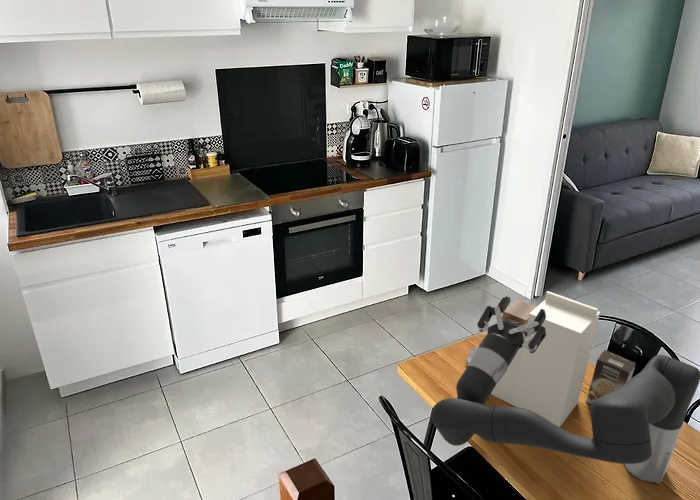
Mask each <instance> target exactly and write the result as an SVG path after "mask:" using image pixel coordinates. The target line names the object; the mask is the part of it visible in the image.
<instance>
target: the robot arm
mask: <svg viewBox="0 0 700 500" xmlns="http://www.w3.org/2000/svg"><path fill="white" fill-rule="evenodd" d="M510 304H511V297H510V296H508V295H506V296H504V297H503V298H501V300H500V301H499V303H498V304H497V306H494V307H493V306H491V305H487V306H486V308H485V309H484V311H483V313H482V315H481V317H480V318H479V320H478V322H477V328H478V331H479V332H481V333H482V332H487V334H485V336H484V338H483V339H482V340H481V342H480V344H479V345H478V346H477V347H478V348H477V350H476V352H475V353H474V355H473V356H472V358H471V360H470V362H469V364H468V363H467V366H466V368H465V370H464V371H463V373H462V375H461V376H460V377H459V379H458V381H457V383H456V387H455V389H456V395H457V396H456V397H457V398H455V397H451V398H450V397H449V398H444V399H442V400H440V401H438V402H437V403H435V404H434V406H433V407H432V409H431V414H430V418H431V421H432V424H433V425H434V427H435V428H436V429H437V431H438V432H439V434H440V435H441V437H442V438H443V439H444V441H445V442H446V443H448V444H449V445H451V446H462V445H465V444H466V443H468V442H469V441H470V439H472V438H473V436H474V435H476V436H478V437H480V438H481V440H483V441H485V442H488V443H491V444H492V443H493V444H502V445H504V444H506V445H517V446H518V445H519V446H527V447H534V448H540V449H545V450H549V451H554V452H558V453H563V454H567V455H572V456H576V457H582V458H587V459H592V460H596V461H597V460H598V461H601V462H607V463H612V464H613V463H614V464H624V466H625V468H626V469H627V471H628V472H629V473H630V474H631V475H632V476H634V477H636V478H637V479H639V480H642V481H643V482H644V481H645V482H648V483H655V484H658V485H661V483H662V481H663V479H664V477H665V475H666V473H667V471H668V467H669V464H670V461H671V459H672V456H673V453H674V451H675V448H676V445H677V441H678V438H679V434H680V432H681V430H682V427H683V424H684V420H685V418H686V416H687V412H688V409H689V407H690V405H691V403H692V401H693V397H694V396H695V394H696V391H697V389H698V387H699V384H700V369H699V368H697V367H696V366H693V365H691V364H689V363H686V362H683V361H681V360H678V359H676V358H674V357H670V356H667V355H663V354H656V355H655V356H653V357H652V358H650V360H649V361H648V362H647V364H646V365H645V366H644V367H643V368H642V370H641V371H640V372H639V373H637V374H636V375H634V376H632V377H631V379H630V380H629V381H627V382H626V383H625V384H624V385H623V386H622V387H620V388H619V389H617V390H616V391H613V392H611V393H609V394H606V395H604V396H602V397H600V398H598V399H596V400H595V401H594V402H593V403H592V404H591V406H590V422H591V431H592V437H587V436H583V435H582V436H581V435H578V434H574V433H572V432H570V431H568V430H565V429H563V427H562V428H561V426H560V427H558V426H556V425H555V424H553V423H551V422H550V421H548V420H547V419H545V418H543V417H542V416H540V415H538V414H537V413H535V412H533V411H530V410H527V409H524V408H519V407H515V406H500V405H499V406H498V405H496V406H495V405H493V406H492V405H486V402H487V401H488V399H489V398H490V396H491V395H492V394H491V392H492V391H493V389H494V387H495V386H496V384H497V383H498V382H499V381H500V379H501V378H502V377H503V375H504V374H505V373H506V371H507V368H508V367H509V365H510V363H511V362H512V360H513V358H514V357H515V355H516V353H517V351H518V350H519V349H520V348H521V347H524V348H526V349H528V350H529V352H530V353H534V352H535V351H536V350H537V348H538V347H539V345H540V344H541V342H542V341H543V339H544V338H545V336H546V330H545V327H543V326H541V325H542V324H543V322H544V320H545V319H546V312H545V310H544V309H541V310H540V311H539V313H538V314H537V316H536V318H535V319H534V322H532V323H530V324H524V325H522V326H519V324H516V323H512V322H510V321H509V320H506V321H505V320H504V321H503V320H502V315H503V313H504V311H505V310H506V308H508V307H509V306H510ZM493 316H495V318H496V323H494V324H492V325H489V322H490V321H491V319H492V317H493ZM523 331H525V332H523ZM522 332H523V333H522ZM536 332H537V333H536ZM533 333H536V334H535V335H534V337H533V338H532V340H531V339H529V340H528V341H527V342H524V338H527V337H529V336H531V334H533Z"/></svg>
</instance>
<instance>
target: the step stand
mask: <svg viewBox="0 0 700 500" xmlns="http://www.w3.org/2000/svg"><path fill="white" fill-rule="evenodd" d="M541 309H544V310H545V312H546V319H545V320H544V322H543V324H542V325H541V326H543V327H545V330H546V336H545V338H544V339H543V341H542V342H541V344H540V345H539V347H538V348H537V350H536V351H535V352H534V353H530V352H529V350H528V349H526V348H524V347H521V348H520V349H519V350H518V351H517V353H516V355H515V357H514V358H513V360H512V362H511V363H510V365H509V367H508V368H507V371H506V373H505V374H504V375H503V377H502V378H501V379H500V381H499V382H498V383H497V384H496V386H495V387H494V389H493V391H492V392H491V394H490V395H492V396H494V397H496V398H498V399H499V400H501V401H504V402H506V403H508V404H510V405H512V407H519V408H524V409H527V410H530V411H533V412H535V413H537V414H538V415H540V416H542V417H543V418H545V419H547V420H548V421H550V422H551V423H553V424H555V425H556V426H558V427H560V428H561V426H562V425H563V424H564V422H565V421H566V420H567V418H568V417H569V416H570V414H571V413H572V411H573V410H574V409H575V408H576V406H577V405H578V403H579V399H580V395H581V393H582V387H583V383H584V379H585V376H586V372H587V368H588V363H589V359H590V355H591V352H592V351H591V350H592V348H593V347H592V346H593V343H594V339H595V335H596V331H597V327H598V323H599V319H600V315H601V311H599V308H597V307H594V306H592V305H588V304H585V303H584V302H580V301H577V300H574V299H573V298H572V299H571V298H569V297H566V296H563V295H560V294H557V293H554V292H551V291H549V290H547V291H546V292H545V297H544V300H543V301H542V302H541V303H539V304H538V305H537V306H536V308H535V309H534V310H533V311H532V312H531V313H529V319H528V324H530V323H532V322H534V319H535V318H536V316H537V314H538V313H539V311H540V310H541ZM536 333H537V332H536ZM536 333H533V334H531V336H529V337H527V338H524V342H527V341H528V340H529V339H531V340H532V338H533V337H534V335H535V334H536Z"/></svg>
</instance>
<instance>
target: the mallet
mask: <svg viewBox="0 0 700 500" xmlns="http://www.w3.org/2000/svg"><path fill="white" fill-rule="evenodd" d="M536 307H537V306H536V305H534V304H530V303H528V302H525V301H523V300H520V299H518V298H517V299H516V300H515V301H514V302H513V303H510V304H509V305H508V307H507V308H506V310H505V311H504V313H502V314H501V315H502V320H503V321H504V320H505V321H506V320H509V321H510V322H512V323H516V324H519V326H522V325H524V324H528V319H529V313H531V312H532V311H533V310H534V309H535V308H536ZM523 332H525V331H523ZM523 332H522V333H523Z"/></svg>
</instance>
